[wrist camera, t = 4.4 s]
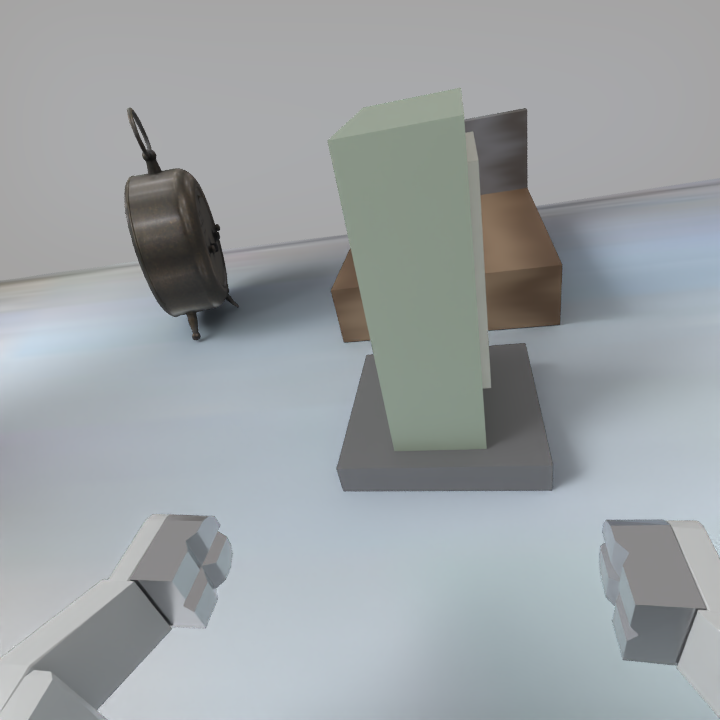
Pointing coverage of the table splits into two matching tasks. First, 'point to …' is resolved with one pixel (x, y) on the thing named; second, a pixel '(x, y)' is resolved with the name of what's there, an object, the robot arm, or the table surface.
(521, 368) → the green pillar on base
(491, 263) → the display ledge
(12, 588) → the table surface
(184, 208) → the alarm clock
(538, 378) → the table surface
